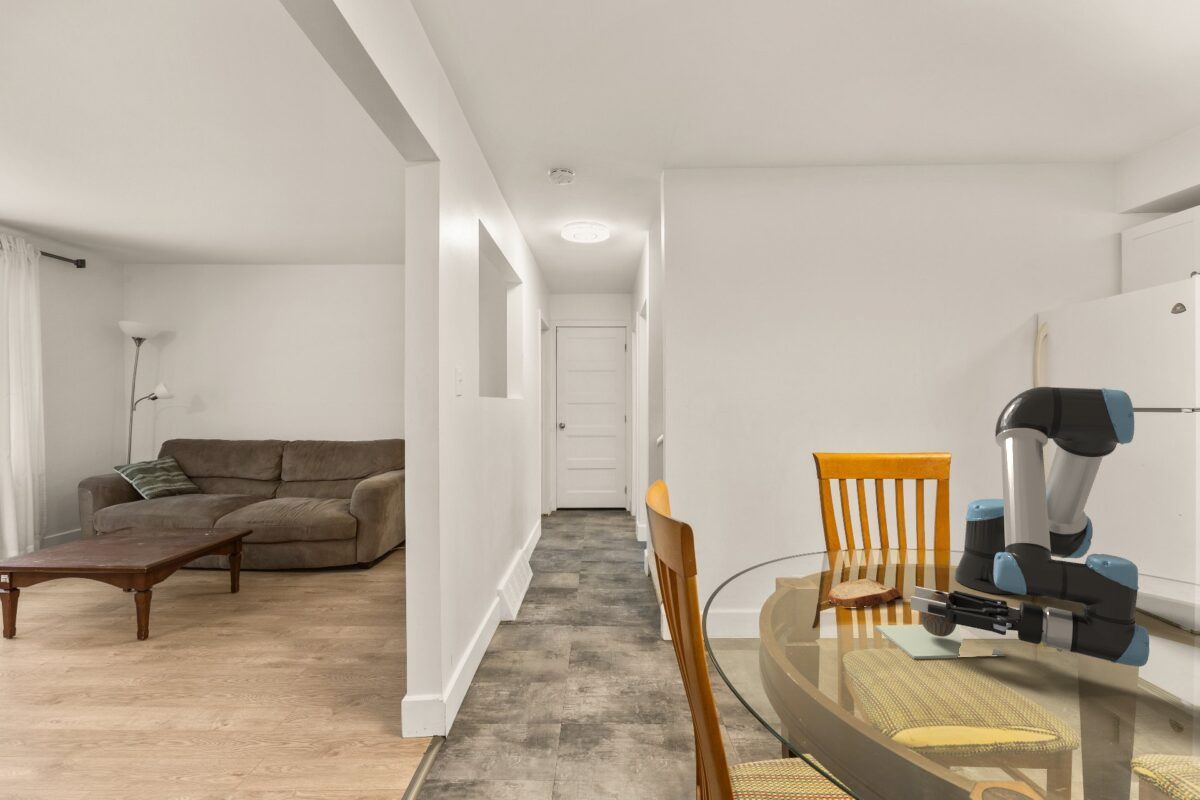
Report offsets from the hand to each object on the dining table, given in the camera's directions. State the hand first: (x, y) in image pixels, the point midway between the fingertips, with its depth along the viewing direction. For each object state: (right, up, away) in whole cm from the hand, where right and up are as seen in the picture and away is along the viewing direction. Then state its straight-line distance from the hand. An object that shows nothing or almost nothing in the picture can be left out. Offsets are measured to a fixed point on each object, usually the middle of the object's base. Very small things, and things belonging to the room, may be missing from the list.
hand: (913, 597), depth 132 cm
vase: (+4, -7, -2) cm, 8 cm away
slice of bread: (-2, -8, +21) cm, 23 cm away
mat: (+4, -9, -2) cm, 10 cm away
